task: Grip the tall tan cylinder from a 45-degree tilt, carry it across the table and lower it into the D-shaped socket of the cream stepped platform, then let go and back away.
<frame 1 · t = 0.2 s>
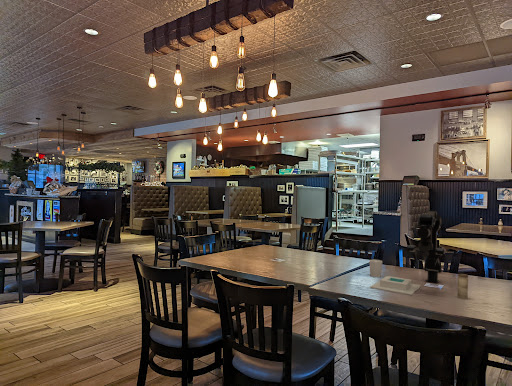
hand: (425, 265, 195), 14 cm above the table, tool pointing down, fingers open, 9 cm apart
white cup: (375, 276, 229), on the table
cream stepped platform: (395, 287, 202), on the table
tan cylinder: (462, 297, 184), on the table
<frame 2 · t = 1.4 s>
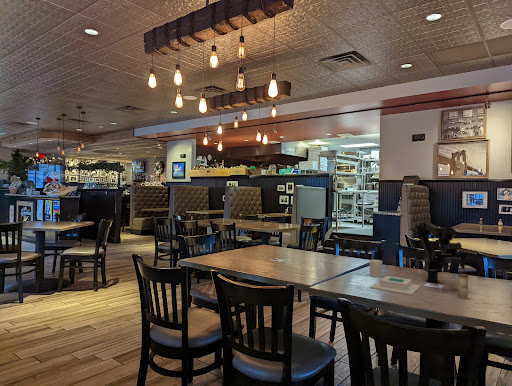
hand: (455, 269, 192), 13 cm above the table, tool tilted 45°, fingers open, 9 cm apart
nothing on the table moved.
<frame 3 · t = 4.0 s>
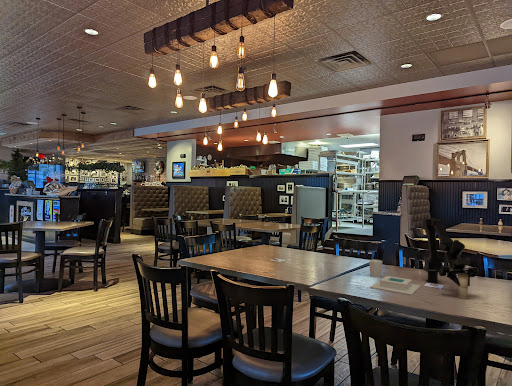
hand: (464, 285, 183), 7 cm above the table, tool tilted 45°, fingers closed on tan cylinder, 5 cm apart
tan cylinder: (462, 297, 184), on the table, touching gripper
everything else where it was.
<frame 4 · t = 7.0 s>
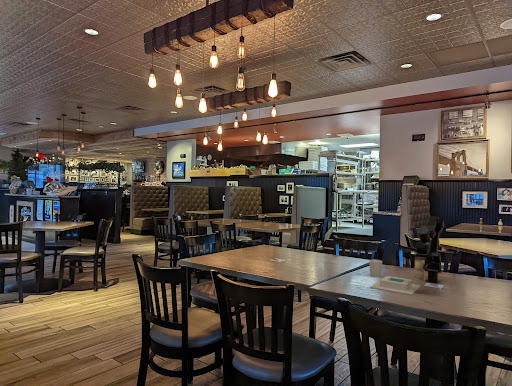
hand: (418, 268, 190), 14 cm above the table, tool tilted 45°, fingers closed on tan cylinder, 5 cm apart
tan cylinder: (419, 280, 191), point 7 cm above the table, touching gripper
everything else where it was.
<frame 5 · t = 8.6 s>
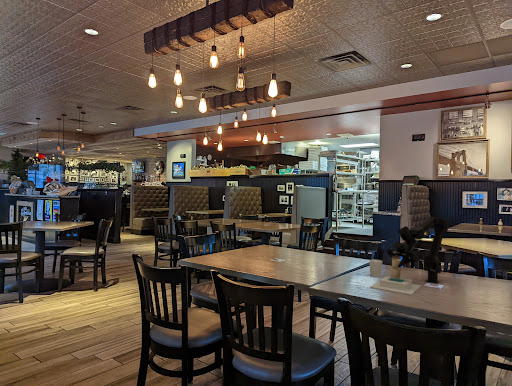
hand: (394, 266, 201), 12 cm above the table, tool tilted 45°, fingers closed on tan cylinder, 5 cm apart
tan cylinder: (395, 277, 201), point 5 cm above the table, touching gripper
everything else where it was.
when the fingers open (8 cm above the table, at t = 9.8 s): tan cylinder stays where it is, resting on cream stepped platform.
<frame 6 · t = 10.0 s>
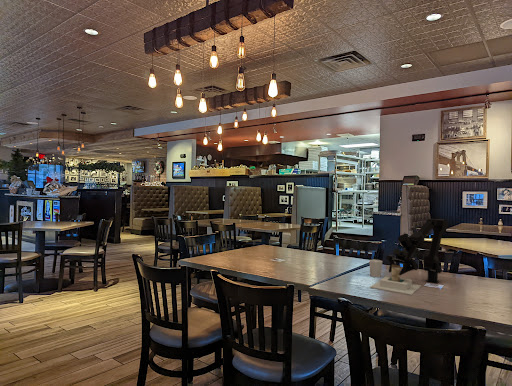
hand: (394, 273, 201), 8 cm above the table, tool tilted 45°, fingers open, 7 cm apart
tan cylinder: (395, 286, 201), point 1 cm above the table, touching cream stepped platform
everything else where it was.
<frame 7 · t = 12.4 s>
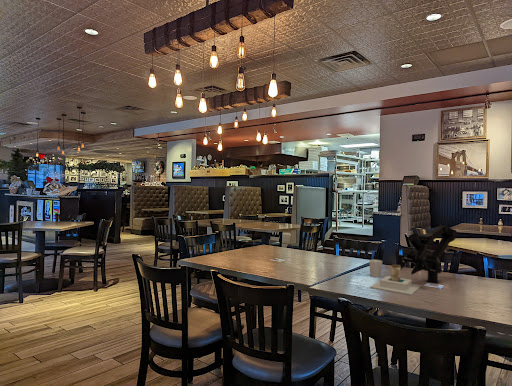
hand: (404, 272, 205), 8 cm above the table, tool tilted 45°, fingers open, 9 cm apart
nothing on the table moved.
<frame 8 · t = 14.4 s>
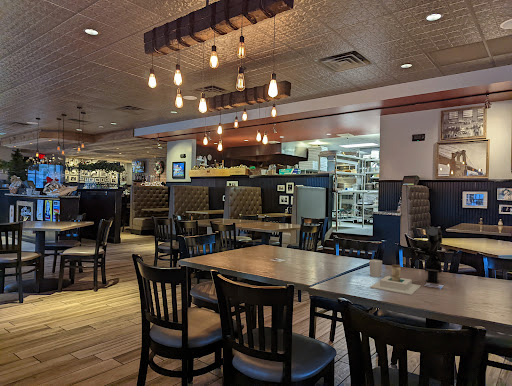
hand: (418, 264, 205), 13 cm above the table, tool tilted 45°, fingers open, 9 cm apart
nothing on the table moved.
at the end: tan cylinder 0.0 cm off-centre on the cream stepped platform, point 0.6 cm above the cream stepped platform's base; tan cylinder tilted 1°; the gripper is holding nothing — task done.
